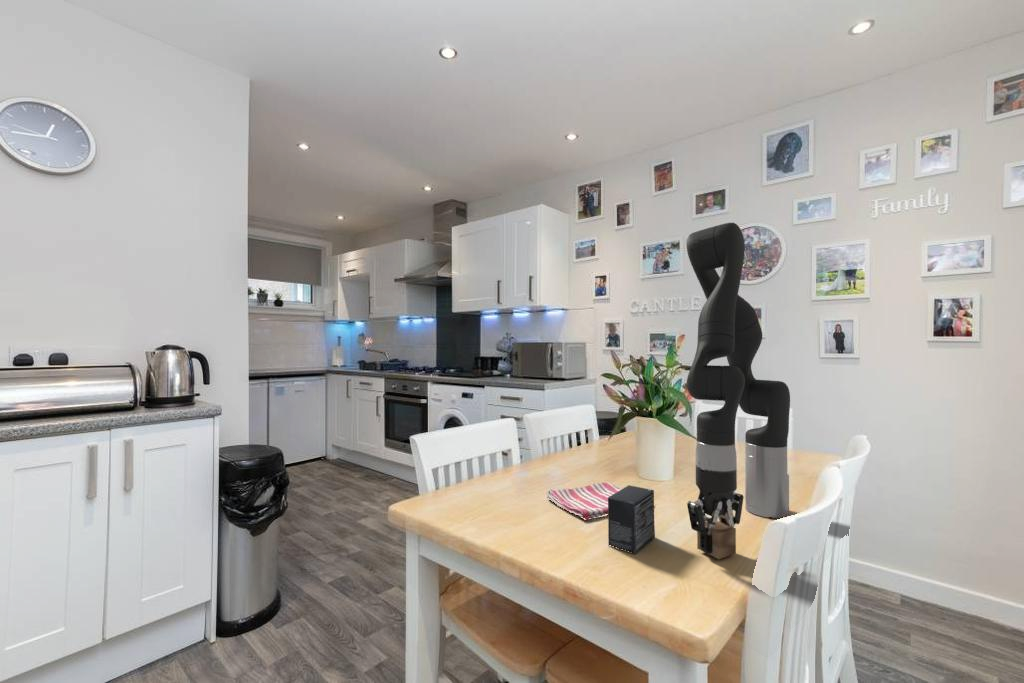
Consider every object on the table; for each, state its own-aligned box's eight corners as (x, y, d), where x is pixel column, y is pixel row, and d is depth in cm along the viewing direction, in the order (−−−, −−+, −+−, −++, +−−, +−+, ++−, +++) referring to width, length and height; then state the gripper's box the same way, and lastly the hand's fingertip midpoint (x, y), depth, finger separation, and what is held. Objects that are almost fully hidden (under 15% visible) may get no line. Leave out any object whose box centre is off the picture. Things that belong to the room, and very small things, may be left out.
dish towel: (544, 501, 120) (544, 489, 120) (610, 488, 131) (610, 476, 131) (583, 524, 105) (583, 509, 105) (654, 507, 116) (654, 494, 116)
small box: (627, 529, 101) (627, 483, 101) (655, 537, 97) (655, 489, 97) (606, 546, 92) (606, 496, 93) (635, 555, 88) (635, 503, 88)
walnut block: (714, 543, 92) (714, 519, 92) (735, 553, 87) (735, 528, 87) (697, 548, 90) (697, 523, 90) (718, 559, 85) (718, 533, 85)
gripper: (723, 455, 95) (724, 534, 95) (675, 464, 89) (675, 548, 89) (756, 464, 88) (756, 549, 88) (706, 474, 82) (707, 565, 82)
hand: (716, 548), depth 89 cm, fingers closed on walnut block, 5 cm apart
